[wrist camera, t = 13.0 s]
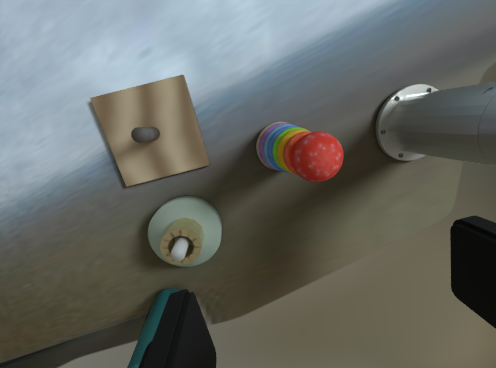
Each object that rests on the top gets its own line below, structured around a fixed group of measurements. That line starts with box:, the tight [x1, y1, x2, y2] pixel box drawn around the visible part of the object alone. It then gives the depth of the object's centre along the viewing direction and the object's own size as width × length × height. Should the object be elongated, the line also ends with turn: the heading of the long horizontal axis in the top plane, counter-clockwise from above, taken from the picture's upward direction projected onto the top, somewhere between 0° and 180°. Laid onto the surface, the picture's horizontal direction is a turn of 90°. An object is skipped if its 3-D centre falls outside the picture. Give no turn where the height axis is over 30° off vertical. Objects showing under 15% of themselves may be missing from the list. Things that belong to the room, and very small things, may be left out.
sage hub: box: [148, 195, 222, 267], centre depth 37 cm, size 12×12×9 cm
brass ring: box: [160, 218, 205, 265], centre depth 37 cm, size 6×6×4 cm
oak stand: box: [90, 75, 210, 187], centre depth 33 cm, size 14×14×7 cm
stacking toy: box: [256, 122, 344, 182], centre depth 30 cm, size 8×8×19 cm
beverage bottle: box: [127, 288, 180, 368], centre depth 35 cm, size 6×7×20 cm
